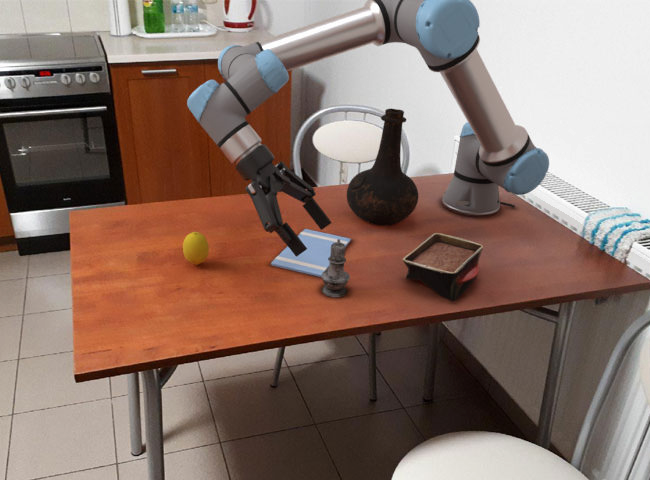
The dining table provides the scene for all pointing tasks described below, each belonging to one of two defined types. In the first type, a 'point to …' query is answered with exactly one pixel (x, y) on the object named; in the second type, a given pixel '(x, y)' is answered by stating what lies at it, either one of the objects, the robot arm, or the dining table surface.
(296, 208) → the dining table surface
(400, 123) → the glass bottle
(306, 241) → the cloth
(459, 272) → the baking dish
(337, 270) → the salt shaker
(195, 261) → the lemon
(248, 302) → the dining table surface
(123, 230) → the dining table surface
